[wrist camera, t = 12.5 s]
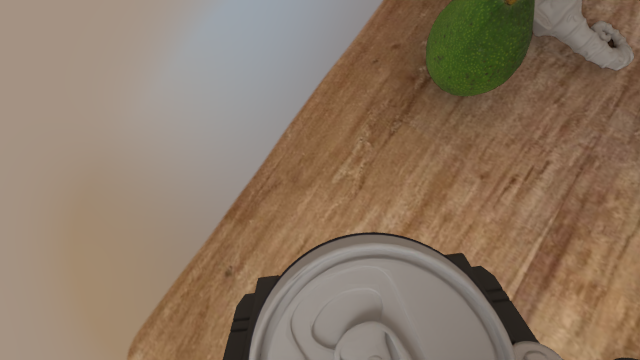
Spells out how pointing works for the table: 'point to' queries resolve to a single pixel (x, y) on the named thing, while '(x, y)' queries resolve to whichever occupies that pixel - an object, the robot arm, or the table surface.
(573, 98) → the table surface
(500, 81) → the fruit
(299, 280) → the beverage can
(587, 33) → the seahorse
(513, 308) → the robot arm
